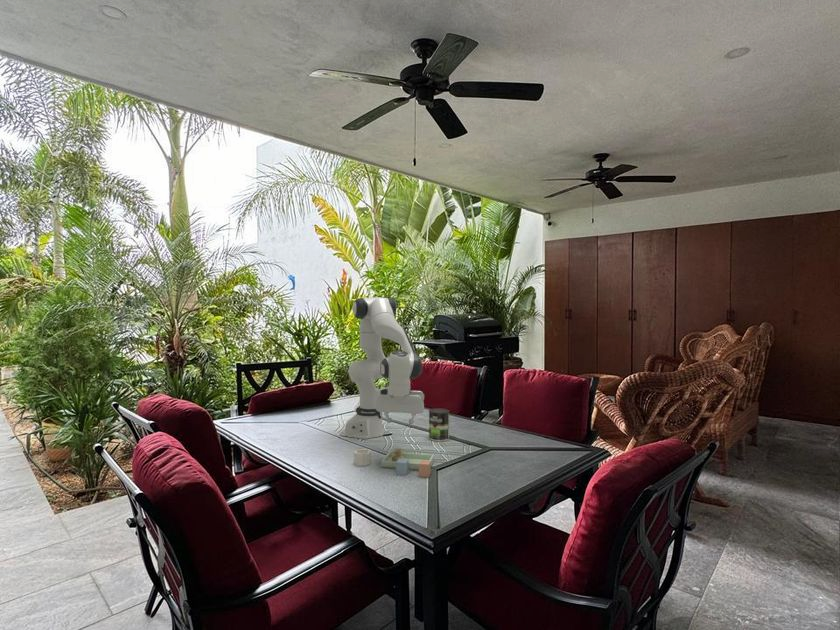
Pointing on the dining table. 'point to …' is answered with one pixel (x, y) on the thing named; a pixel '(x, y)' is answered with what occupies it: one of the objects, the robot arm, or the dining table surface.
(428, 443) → the dining table surface
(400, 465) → the blue block
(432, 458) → the tray
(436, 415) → the coffee can
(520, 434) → the dining table surface
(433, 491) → the dining table surface
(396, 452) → the birch block
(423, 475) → the terracotta block
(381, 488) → the dining table surface
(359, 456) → the cup
